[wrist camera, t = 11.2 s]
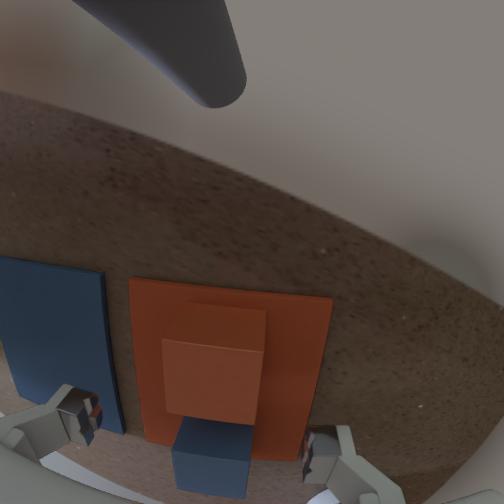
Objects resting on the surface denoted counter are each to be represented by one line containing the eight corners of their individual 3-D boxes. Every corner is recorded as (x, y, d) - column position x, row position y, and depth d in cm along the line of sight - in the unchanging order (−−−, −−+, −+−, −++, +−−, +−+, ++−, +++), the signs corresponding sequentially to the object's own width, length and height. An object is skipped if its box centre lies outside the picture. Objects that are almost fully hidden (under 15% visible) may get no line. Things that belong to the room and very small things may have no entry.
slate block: (188, 403, 20) (171, 450, 15) (254, 412, 20) (250, 462, 15) (190, 445, 21) (176, 489, 16) (249, 453, 21) (244, 499, 16)
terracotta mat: (131, 276, 19) (128, 279, 18) (332, 297, 18) (334, 301, 17) (148, 436, 22) (146, 441, 21) (296, 456, 21) (296, 461, 21)
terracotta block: (186, 301, 18) (161, 338, 14) (266, 310, 18) (264, 352, 13) (186, 366, 19) (166, 412, 15) (259, 375, 19) (254, 425, 14)
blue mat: (-10, 253, 19) (-15, 255, 19) (104, 272, 19) (100, 275, 18) (22, 392, 22) (18, 396, 22) (126, 430, 22) (123, 435, 21)
